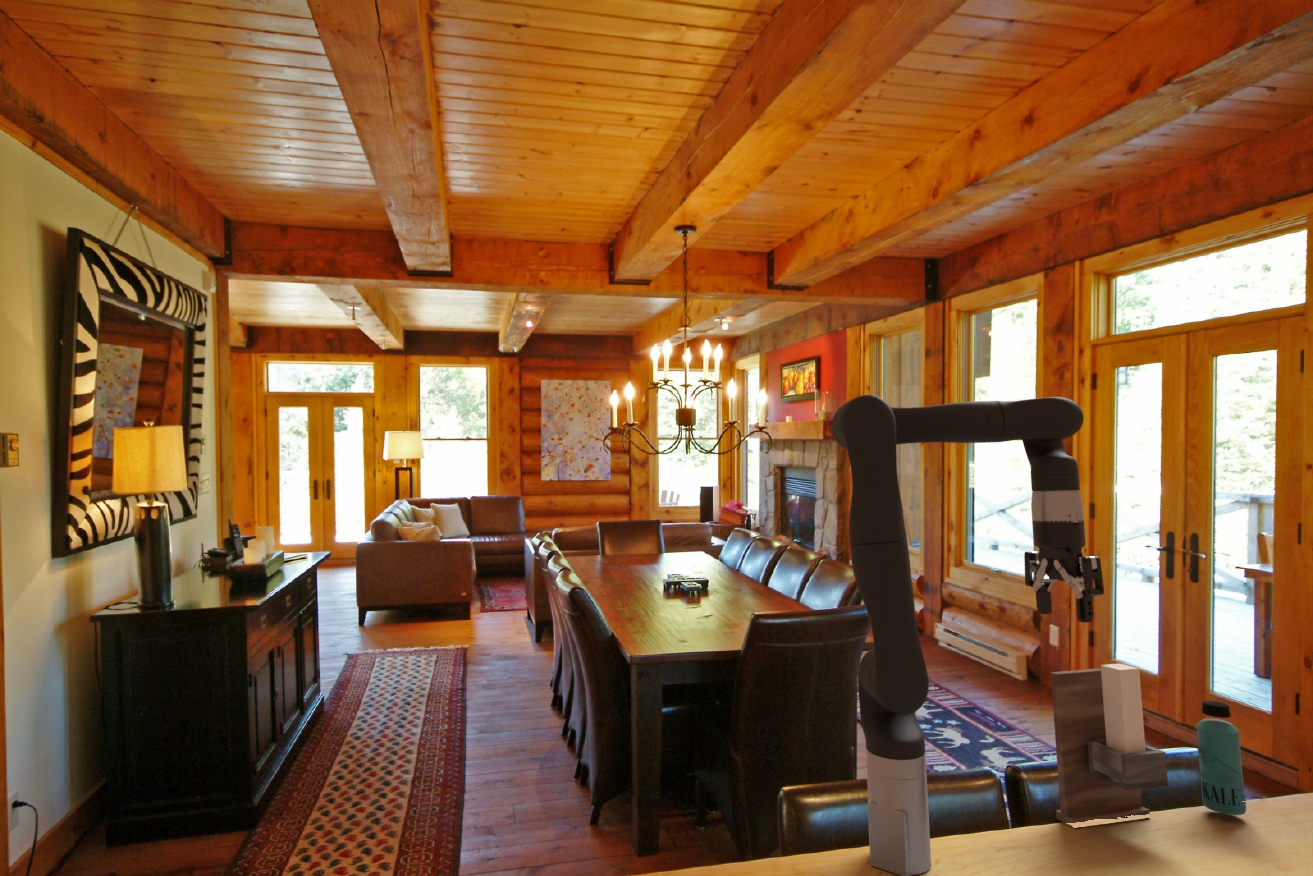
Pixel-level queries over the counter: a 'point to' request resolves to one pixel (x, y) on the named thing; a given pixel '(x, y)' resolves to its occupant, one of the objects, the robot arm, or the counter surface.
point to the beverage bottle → (1220, 761)
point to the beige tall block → (1123, 708)
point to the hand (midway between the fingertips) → (1064, 617)
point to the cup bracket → (1096, 755)
